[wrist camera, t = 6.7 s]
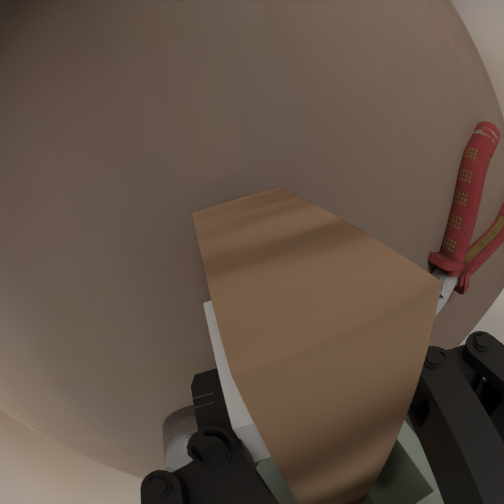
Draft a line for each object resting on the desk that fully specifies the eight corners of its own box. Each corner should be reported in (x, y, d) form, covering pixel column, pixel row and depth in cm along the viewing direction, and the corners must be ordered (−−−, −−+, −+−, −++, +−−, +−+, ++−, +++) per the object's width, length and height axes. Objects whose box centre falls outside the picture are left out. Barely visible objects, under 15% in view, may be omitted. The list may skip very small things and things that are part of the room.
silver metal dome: (145, 418, 18) (146, 460, 15) (227, 391, 19) (238, 435, 15) (189, 454, 21) (194, 489, 18) (258, 431, 22) (271, 467, 18)
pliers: (344, 320, 19) (362, 342, 17) (474, 113, 16) (499, 116, 13) (407, 354, 24) (423, 370, 22) (507, 196, 20) (525, 203, 18)
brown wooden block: (191, 212, 12) (231, 375, 4) (280, 186, 12) (441, 281, 4) (278, 446, 21) (312, 527, 13) (319, 431, 22) (360, 507, 14)
